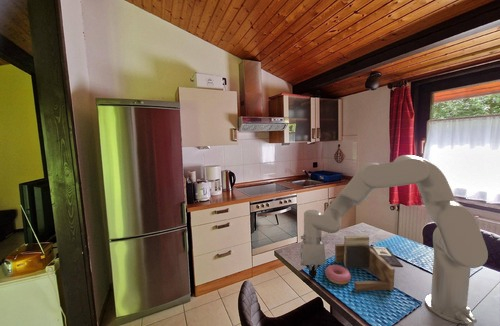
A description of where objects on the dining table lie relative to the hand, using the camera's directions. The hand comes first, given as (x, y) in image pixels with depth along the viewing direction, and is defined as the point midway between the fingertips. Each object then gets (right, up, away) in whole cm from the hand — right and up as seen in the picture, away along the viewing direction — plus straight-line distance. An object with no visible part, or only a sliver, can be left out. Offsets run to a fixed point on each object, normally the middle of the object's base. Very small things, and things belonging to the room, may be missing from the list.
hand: (312, 276), depth 97 cm
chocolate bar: (+44, +1, +16) cm, 47 cm away
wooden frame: (+24, 0, +3) cm, 24 cm away
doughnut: (+12, -1, 0) cm, 12 cm away
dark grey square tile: (+24, +1, +7) cm, 25 cm away
